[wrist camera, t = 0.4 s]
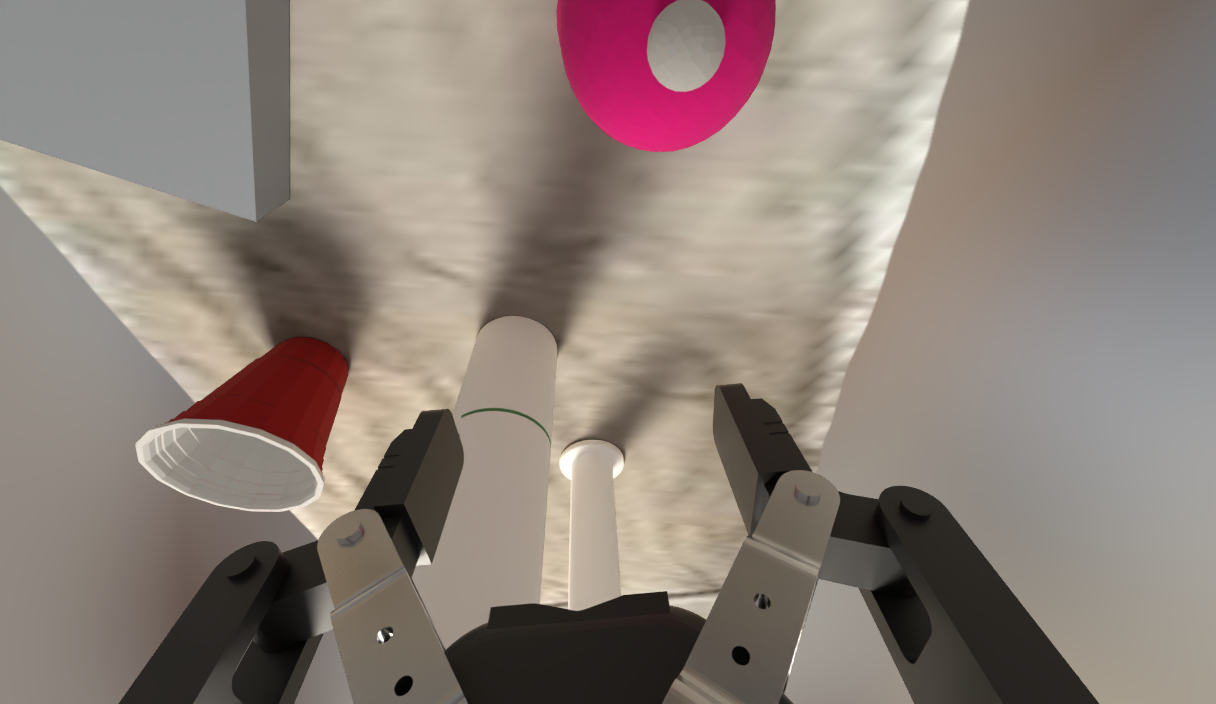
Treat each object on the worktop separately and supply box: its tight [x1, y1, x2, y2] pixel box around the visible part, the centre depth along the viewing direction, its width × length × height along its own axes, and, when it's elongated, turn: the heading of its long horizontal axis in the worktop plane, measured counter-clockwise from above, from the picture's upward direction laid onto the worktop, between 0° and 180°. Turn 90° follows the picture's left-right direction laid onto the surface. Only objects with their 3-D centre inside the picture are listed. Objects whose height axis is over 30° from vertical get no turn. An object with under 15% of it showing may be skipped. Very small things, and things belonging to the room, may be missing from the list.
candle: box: [560, 440, 624, 611], centre depth 40 cm, size 7×7×25 cm
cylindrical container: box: [412, 316, 557, 649], centre depth 30 cm, size 7×7×25 cm
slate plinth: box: [0, 0, 290, 222], centre depth 23 cm, size 14×14×4 cm
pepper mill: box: [557, 0, 776, 152], centre depth 17 cm, size 7×7×20 cm
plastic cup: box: [136, 337, 349, 512], centre depth 35 cm, size 11×11×12 cm
